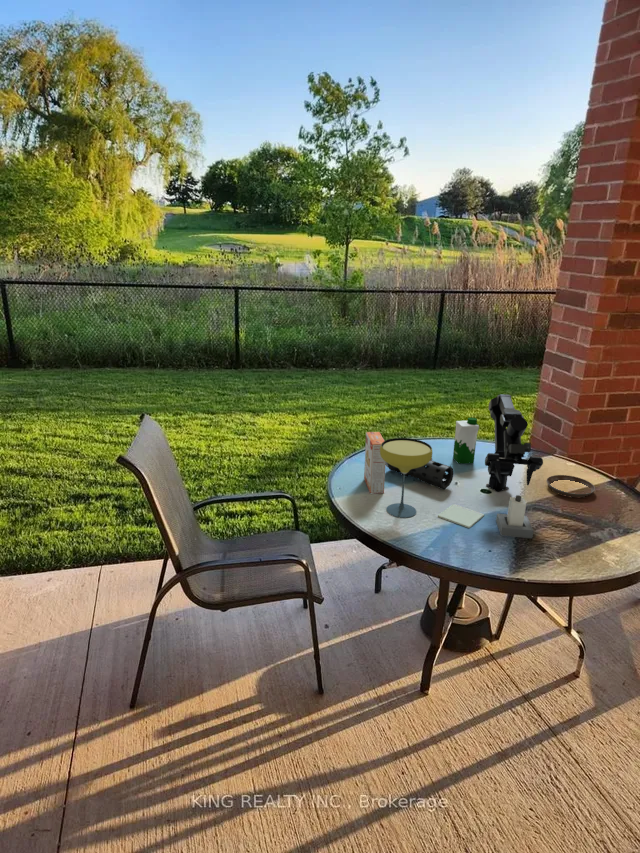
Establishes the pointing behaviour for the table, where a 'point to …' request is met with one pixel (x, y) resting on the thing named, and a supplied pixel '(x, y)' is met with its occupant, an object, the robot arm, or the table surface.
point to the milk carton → (465, 441)
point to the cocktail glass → (405, 465)
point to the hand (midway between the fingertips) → (514, 483)
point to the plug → (516, 511)
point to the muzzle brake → (430, 474)
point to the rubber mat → (461, 515)
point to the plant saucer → (571, 478)
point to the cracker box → (374, 463)
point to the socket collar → (514, 527)
